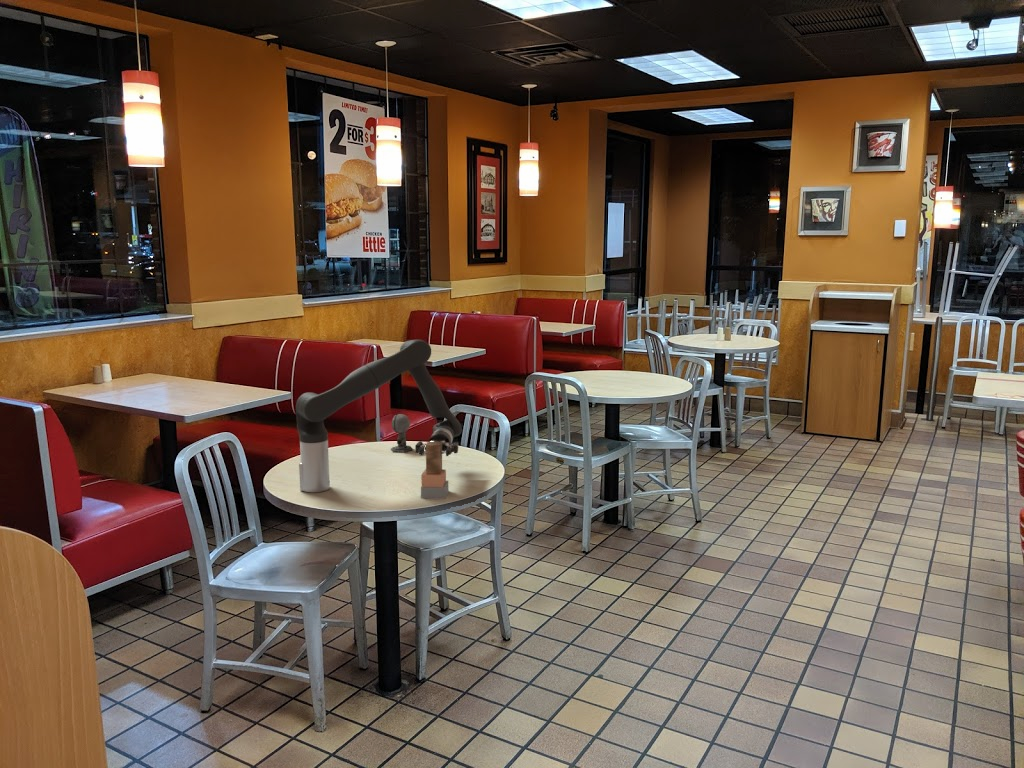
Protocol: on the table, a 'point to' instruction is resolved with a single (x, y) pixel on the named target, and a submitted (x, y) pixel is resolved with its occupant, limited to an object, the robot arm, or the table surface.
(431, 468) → the walnut block
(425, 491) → the tower base
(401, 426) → the grey round-topped stand
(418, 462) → the table surface
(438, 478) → the tower top
